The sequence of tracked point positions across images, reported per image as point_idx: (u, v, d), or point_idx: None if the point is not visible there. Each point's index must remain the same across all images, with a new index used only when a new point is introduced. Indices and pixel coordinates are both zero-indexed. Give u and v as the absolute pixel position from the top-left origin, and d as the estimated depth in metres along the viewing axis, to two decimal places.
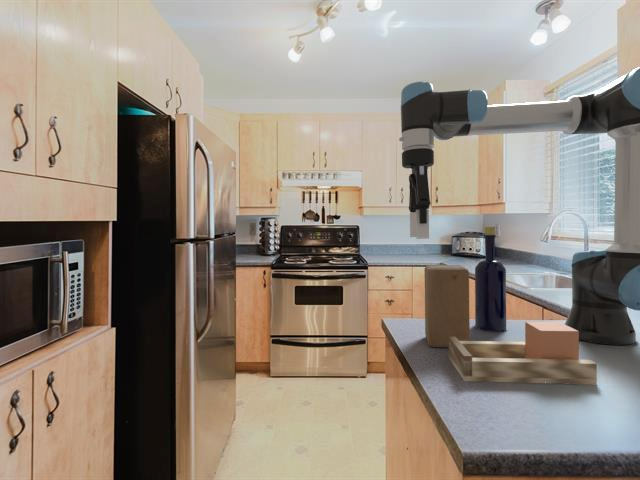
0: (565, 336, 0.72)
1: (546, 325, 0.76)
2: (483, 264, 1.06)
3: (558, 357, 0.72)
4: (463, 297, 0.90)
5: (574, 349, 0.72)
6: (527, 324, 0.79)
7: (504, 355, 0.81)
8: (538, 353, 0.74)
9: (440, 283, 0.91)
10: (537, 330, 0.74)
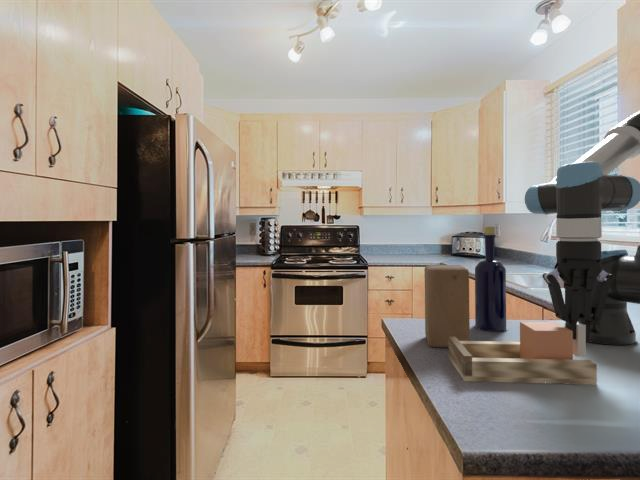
0: (559, 336, 0.72)
1: (540, 325, 0.76)
2: (483, 264, 1.06)
3: (552, 357, 0.73)
4: (463, 297, 0.90)
5: (568, 349, 0.72)
6: (522, 324, 0.79)
7: (504, 355, 0.81)
8: (532, 353, 0.74)
9: (440, 283, 0.91)
10: (531, 330, 0.74)
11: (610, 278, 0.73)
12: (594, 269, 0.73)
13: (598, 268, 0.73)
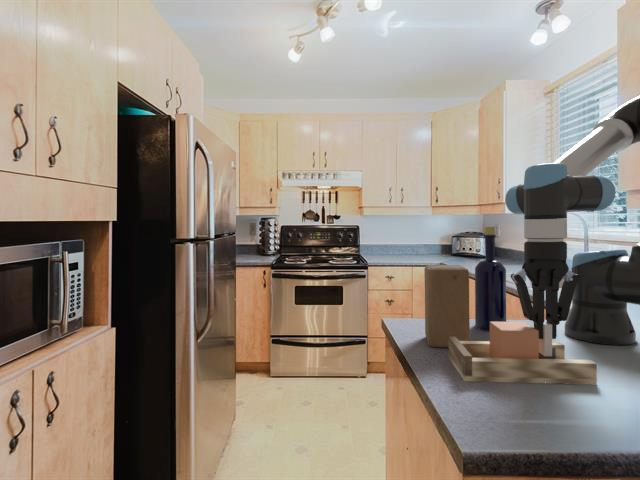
0: (525, 336, 0.73)
1: (509, 325, 0.77)
2: (483, 264, 1.06)
3: (518, 356, 0.73)
4: (463, 297, 0.90)
5: (534, 348, 0.73)
6: (491, 324, 0.79)
7: None
8: (499, 352, 0.75)
9: (440, 283, 0.91)
10: (499, 330, 0.75)
11: (576, 278, 0.74)
12: (560, 269, 0.74)
13: (564, 268, 0.74)
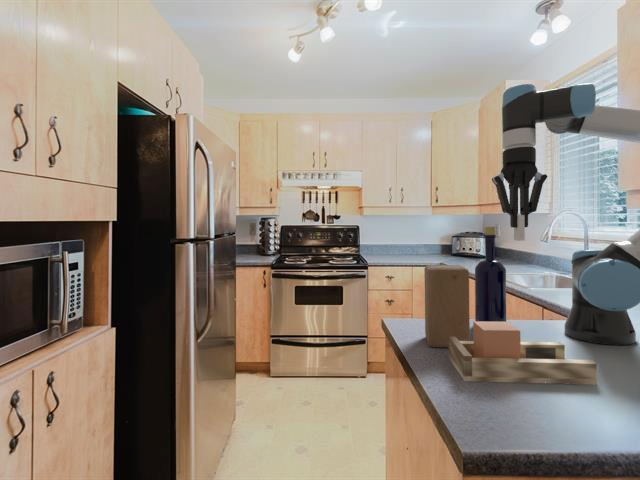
0: (507, 336, 0.73)
1: (492, 325, 0.78)
2: (483, 264, 1.06)
3: (500, 356, 0.74)
4: (463, 297, 0.90)
5: (516, 348, 0.73)
6: (474, 324, 0.80)
7: None
8: (482, 352, 0.75)
9: (440, 283, 0.91)
10: (481, 329, 0.75)
11: (543, 177, 0.92)
12: (531, 170, 0.93)
13: (534, 169, 0.93)
